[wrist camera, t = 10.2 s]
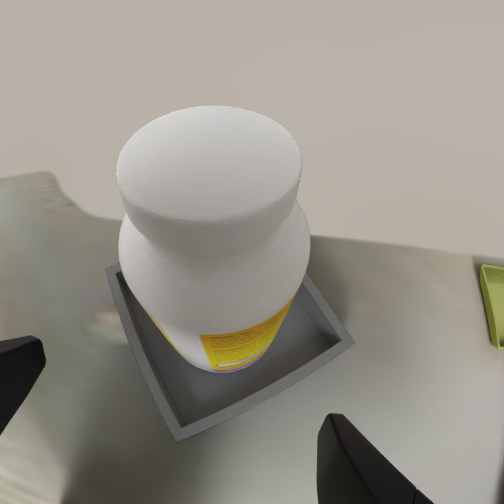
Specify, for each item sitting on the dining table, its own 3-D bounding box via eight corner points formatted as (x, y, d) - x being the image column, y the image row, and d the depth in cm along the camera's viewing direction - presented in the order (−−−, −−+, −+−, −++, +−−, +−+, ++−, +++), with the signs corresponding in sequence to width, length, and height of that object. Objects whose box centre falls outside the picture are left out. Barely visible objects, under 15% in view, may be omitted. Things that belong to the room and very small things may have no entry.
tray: (337, 354, 18) (355, 343, 15) (185, 437, 14) (176, 442, 12) (254, 230, 23) (257, 205, 20) (119, 289, 19) (105, 269, 16)
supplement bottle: (289, 298, 19) (361, 128, 8) (248, 392, 15) (298, 333, 4) (198, 260, 20) (176, 80, 9) (149, 343, 16) (32, 202, 5)
